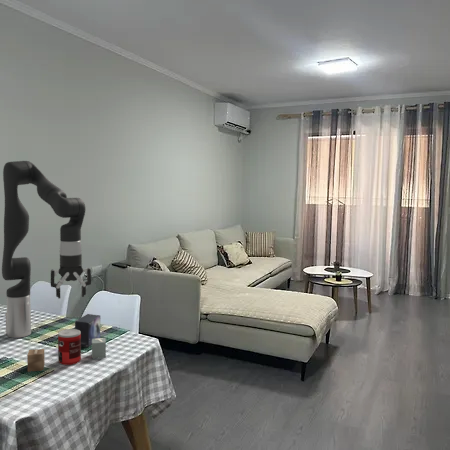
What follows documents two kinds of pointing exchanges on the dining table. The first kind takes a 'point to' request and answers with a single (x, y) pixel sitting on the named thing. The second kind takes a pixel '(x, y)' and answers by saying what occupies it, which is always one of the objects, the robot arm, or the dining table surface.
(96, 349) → the slate digit block
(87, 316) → the small box
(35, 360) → the walnut digit block
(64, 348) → the canned food
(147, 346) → the dining table surface
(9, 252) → the robot arm
